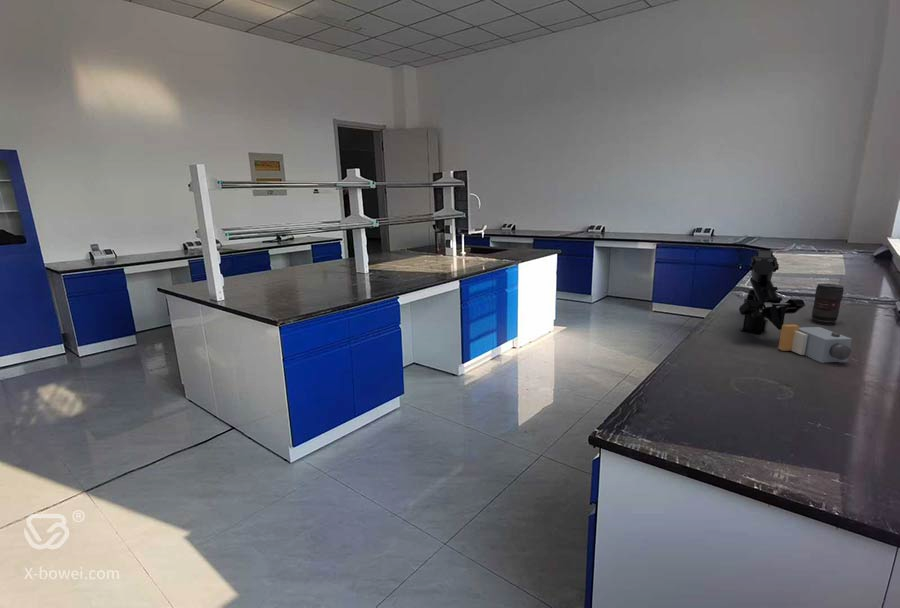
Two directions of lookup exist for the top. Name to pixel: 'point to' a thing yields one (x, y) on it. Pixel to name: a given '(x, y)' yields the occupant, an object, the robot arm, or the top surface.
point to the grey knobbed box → (826, 345)
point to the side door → (792, 339)
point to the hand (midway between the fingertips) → (780, 329)
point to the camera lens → (827, 303)
